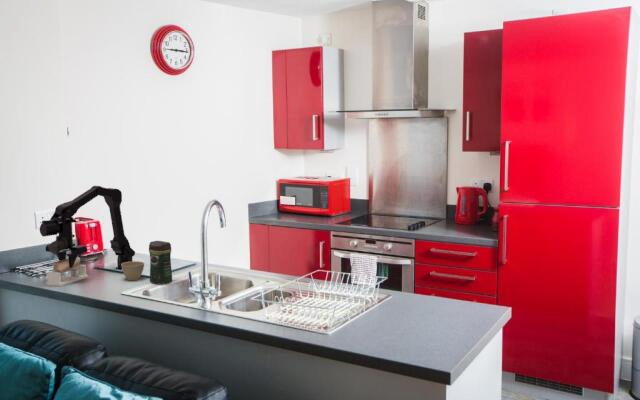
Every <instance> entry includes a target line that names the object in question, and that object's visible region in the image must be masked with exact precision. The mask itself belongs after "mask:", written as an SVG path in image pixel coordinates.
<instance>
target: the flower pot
mask: <svg viewBox="0 0 640 400" xmlns="http://www.w3.org/2000/svg"><path fill="white" fill-rule="evenodd" d="M121 267H122V269H121V271H122V273H123V275H124V277H125V278H126V280H128V281H137V280H139V279H140V278H141V277H142V276H141V275H142V274H143V272H144V268H145V262H143V261H137V260H136V261H135V260H134V261H133V262H125V263H122V264H121Z"/></svg>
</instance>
